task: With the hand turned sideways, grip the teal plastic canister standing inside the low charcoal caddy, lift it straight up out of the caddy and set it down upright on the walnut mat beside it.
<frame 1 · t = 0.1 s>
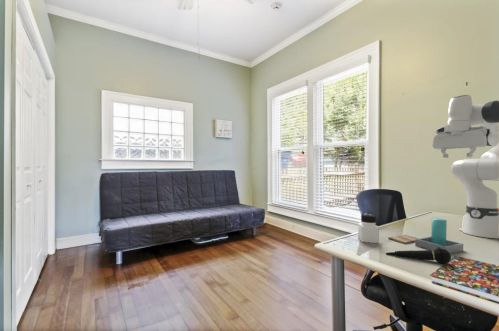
hand: (457, 157, 115), 39 cm above the table, tool pointing down, fingers open, 8 cm apart
caddy: (438, 248, 102), on the table
canister: (438, 233, 102), in the caddy
mat: (404, 239, 113), on the table
microphone: (417, 259, 90), on the table
medicine bottle: (368, 240, 112), on the table
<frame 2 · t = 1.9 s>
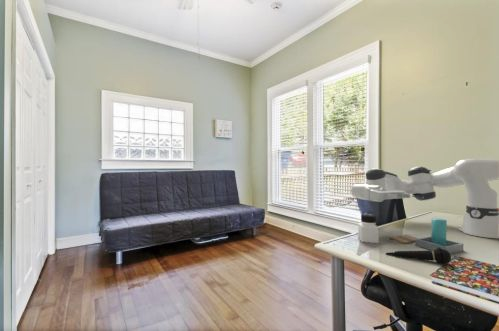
hand: (403, 196, 117), 20 cm above the table, tool horizontal, fingers open, 8 cm apart
nothing on the table moved.
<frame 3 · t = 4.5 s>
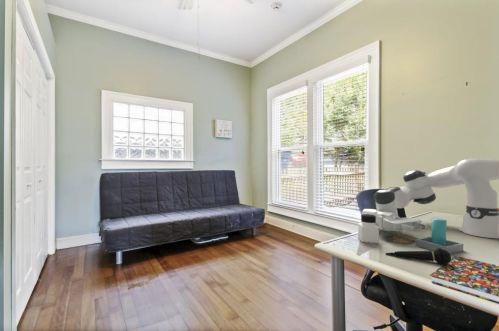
hand: (419, 227, 109), 7 cm above the table, tool horizontal, fingers open, 8 cm apart
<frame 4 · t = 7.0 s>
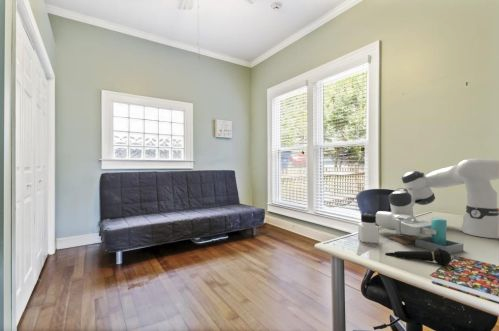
hand: (441, 231, 102), 7 cm above the table, tool horizontal, fingers closed on canister, 5 cm apart
canister: (438, 233, 102), in the caddy, touching gripper
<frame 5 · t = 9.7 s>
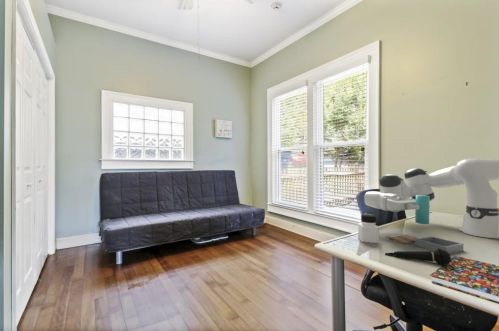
hand: (424, 207, 107), 17 cm above the table, tool horizontal, fingers closed on canister, 5 cm apart
canister: (422, 209, 107), point 16 cm above the table, touching gripper
when the fingers open (9 cm above the table, at t = 12.6 s): canister drops 1 cm, resting on mat.
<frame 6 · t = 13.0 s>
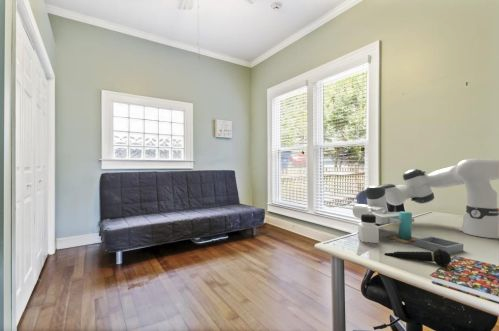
hand: (407, 221, 113), 9 cm above the table, tool horizontal, fingers open, 8 cm apart
canister: (405, 225, 114), on the mat, point 7 cm above the table
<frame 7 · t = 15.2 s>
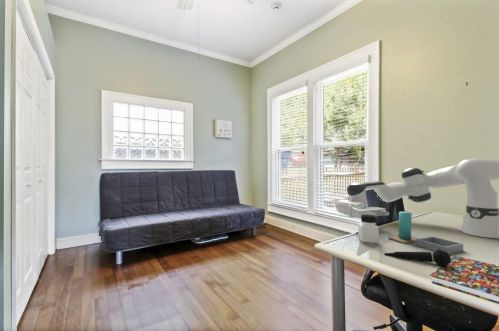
hand: (382, 214, 124), 10 cm above the table, tool horizontal, fingers open, 8 cm apart
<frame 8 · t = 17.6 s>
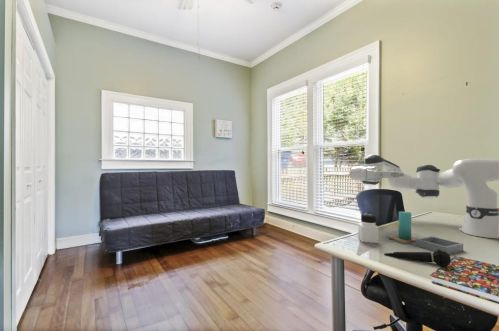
hand: (397, 175, 127), 30 cm above the table, tool horizontal, fingers open, 8 cm apart
at the end: canister inside the target area on the mat (0.0 cm from its centre), point 6.8 cm above the mat's base; canister tilted 1°; the gripper is holding nothing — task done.
